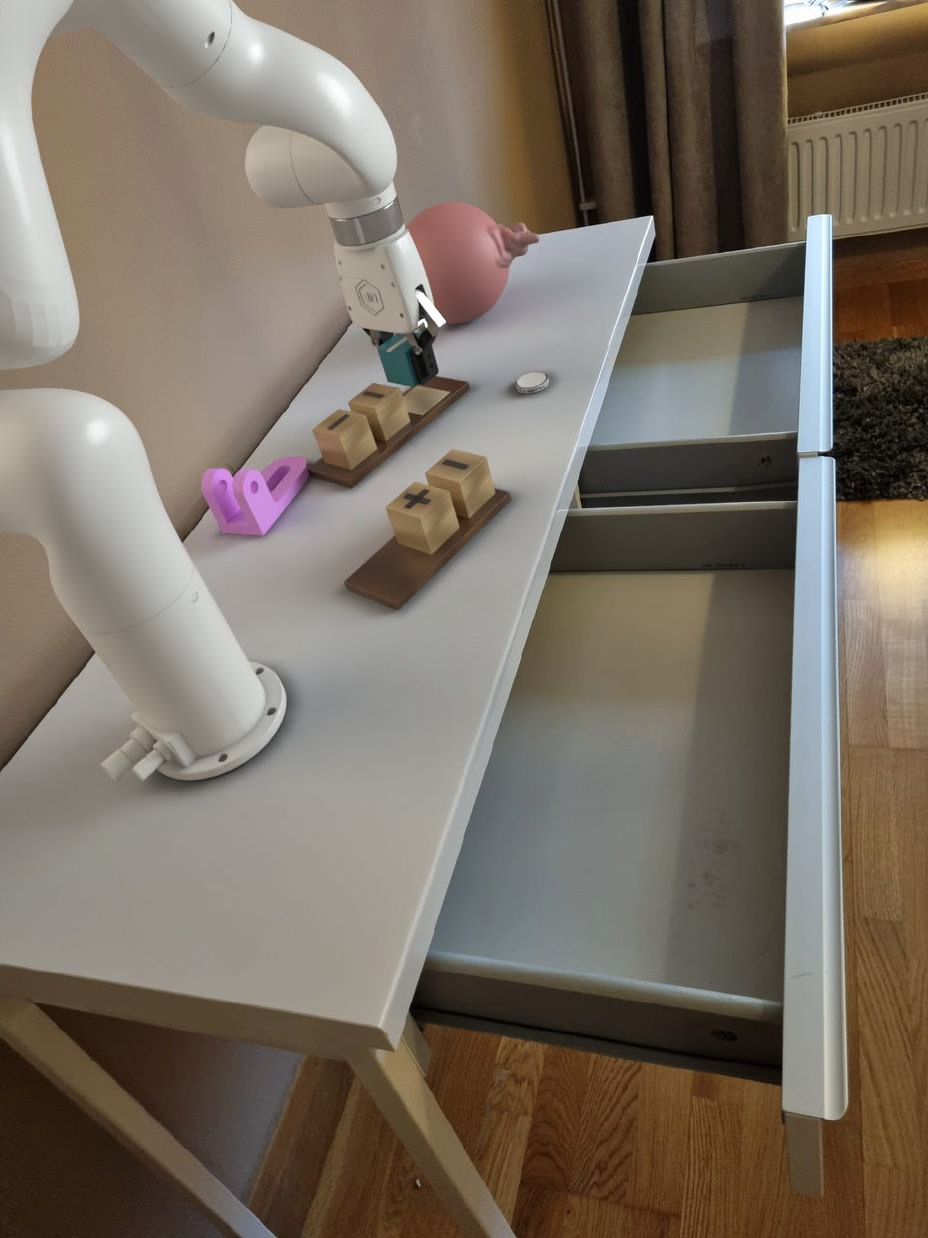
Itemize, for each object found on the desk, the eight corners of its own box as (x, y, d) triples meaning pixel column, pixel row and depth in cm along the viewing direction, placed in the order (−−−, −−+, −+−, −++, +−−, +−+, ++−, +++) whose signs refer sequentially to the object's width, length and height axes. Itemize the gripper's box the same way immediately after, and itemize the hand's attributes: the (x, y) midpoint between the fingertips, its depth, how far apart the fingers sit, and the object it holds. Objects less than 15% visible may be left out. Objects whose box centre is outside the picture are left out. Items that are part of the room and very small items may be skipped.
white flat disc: (553, 376, 107) (553, 371, 107) (541, 393, 105) (540, 388, 104) (523, 375, 109) (523, 370, 108) (510, 392, 106) (509, 387, 106)
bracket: (263, 535, 96) (238, 483, 92) (222, 533, 98) (196, 481, 94) (318, 466, 104) (298, 414, 100) (279, 465, 107) (257, 414, 102)
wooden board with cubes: (398, 610, 82) (381, 564, 78) (346, 589, 86) (327, 544, 82) (511, 499, 91) (500, 453, 87) (459, 485, 95) (447, 441, 91)
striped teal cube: (412, 389, 104) (402, 353, 101) (385, 383, 106) (374, 348, 103) (440, 367, 106) (430, 331, 103) (413, 362, 109) (402, 327, 106)
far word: (351, 488, 99) (335, 446, 95) (310, 476, 103) (293, 434, 100) (470, 388, 110) (460, 347, 106) (428, 381, 114) (417, 340, 110)
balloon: (539, 335, 116) (518, 215, 106) (399, 349, 123) (366, 237, 112) (560, 283, 126) (542, 170, 116) (429, 298, 133) (402, 192, 123)
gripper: (291, 234, 97) (344, 381, 109) (402, 241, 88) (446, 403, 100) (337, 205, 101) (383, 351, 113) (449, 210, 91) (486, 369, 103)
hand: (412, 374), depth 106 cm, fingers closed on striped teal cube, 4 cm apart
